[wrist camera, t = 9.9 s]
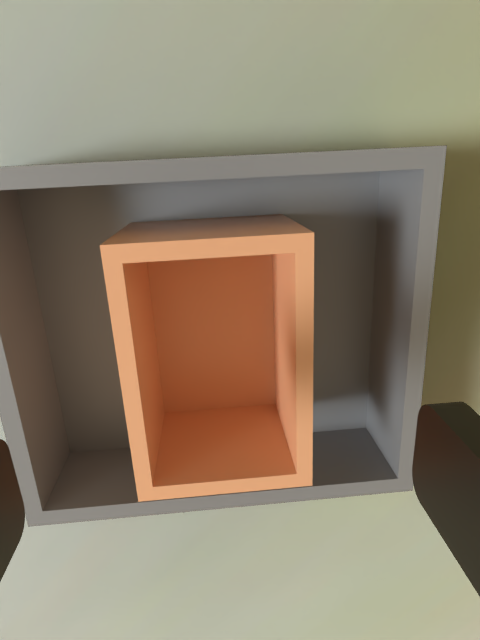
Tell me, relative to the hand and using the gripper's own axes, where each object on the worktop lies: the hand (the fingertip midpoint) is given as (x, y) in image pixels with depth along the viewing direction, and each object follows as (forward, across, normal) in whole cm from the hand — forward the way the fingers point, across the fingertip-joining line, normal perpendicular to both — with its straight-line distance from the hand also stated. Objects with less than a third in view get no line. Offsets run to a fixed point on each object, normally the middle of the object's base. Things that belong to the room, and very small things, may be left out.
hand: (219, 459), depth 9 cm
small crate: (+9, 0, 0) cm, 9 cm away
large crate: (+10, 0, 0) cm, 10 cm away
